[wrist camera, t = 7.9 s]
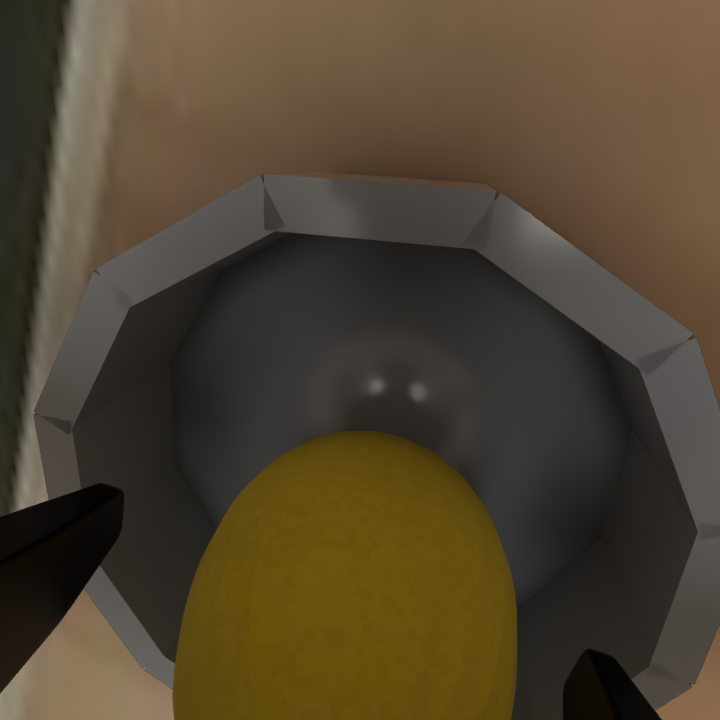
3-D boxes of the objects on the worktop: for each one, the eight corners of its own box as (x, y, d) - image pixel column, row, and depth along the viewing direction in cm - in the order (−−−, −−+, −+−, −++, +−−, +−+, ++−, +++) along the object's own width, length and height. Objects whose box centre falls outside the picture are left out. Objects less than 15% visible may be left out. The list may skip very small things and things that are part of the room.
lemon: (408, 588, 14) (374, 1062, 7) (234, 484, 14) (-2, 883, 6) (543, 452, 12) (704, 945, 5) (342, 322, 11) (168, 651, 4)
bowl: (713, 560, 13) (827, 740, 9) (295, 650, 17) (240, 804, 13) (535, 62, 10) (583, -12, 6) (82, 309, 14) (-78, 367, 10)
